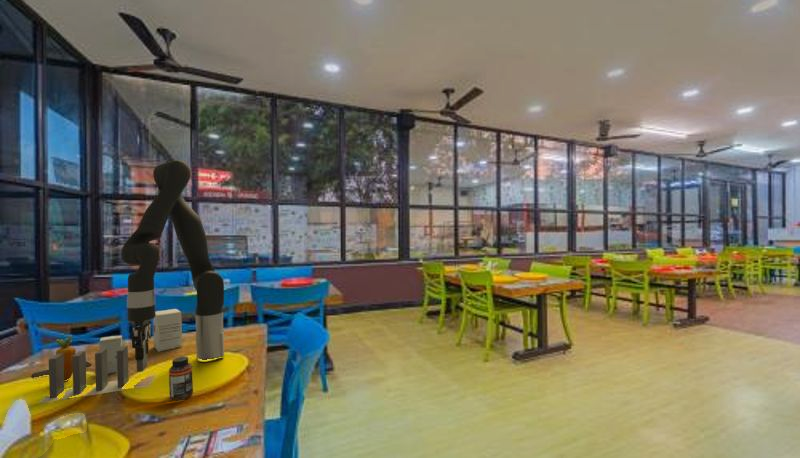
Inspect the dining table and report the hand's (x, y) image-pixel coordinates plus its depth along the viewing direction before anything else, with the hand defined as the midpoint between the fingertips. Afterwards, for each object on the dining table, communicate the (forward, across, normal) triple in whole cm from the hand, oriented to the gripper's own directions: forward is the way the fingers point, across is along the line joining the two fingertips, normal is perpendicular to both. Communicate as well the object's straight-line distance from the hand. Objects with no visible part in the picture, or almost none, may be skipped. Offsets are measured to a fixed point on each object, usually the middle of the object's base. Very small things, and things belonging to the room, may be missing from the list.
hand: (142, 356), depth 121 cm
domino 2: (+8, 0, +11) cm, 13 cm away
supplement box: (+9, +40, 0) cm, 41 cm away
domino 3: (+8, 0, +5) cm, 9 cm away
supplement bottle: (+8, -17, -14) cm, 23 cm away
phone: (+9, +25, +30) cm, 40 cm away
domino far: (+8, 0, +22) cm, 23 cm away
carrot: (+9, +12, +24) cm, 28 cm away
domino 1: (+8, 0, +16) cm, 18 cm away
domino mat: (+8, 0, +11) cm, 14 cm away
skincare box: (+9, +16, +13) cm, 22 cm away
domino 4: (+4, 0, 0) cm, 4 cm away
